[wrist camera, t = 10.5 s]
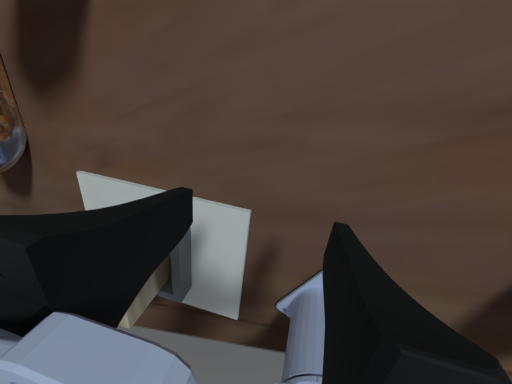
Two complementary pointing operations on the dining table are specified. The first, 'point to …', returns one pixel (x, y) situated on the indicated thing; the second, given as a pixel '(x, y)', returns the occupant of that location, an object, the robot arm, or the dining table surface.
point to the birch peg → (147, 293)
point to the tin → (9, 125)
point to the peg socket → (190, 245)
